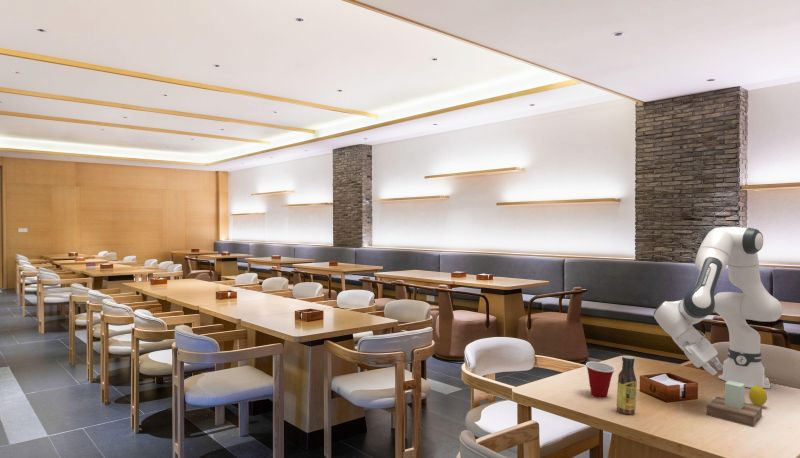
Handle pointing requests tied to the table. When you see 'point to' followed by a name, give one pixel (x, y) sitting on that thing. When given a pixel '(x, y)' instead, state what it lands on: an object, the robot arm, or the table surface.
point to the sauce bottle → (627, 387)
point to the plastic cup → (599, 378)
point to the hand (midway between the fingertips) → (718, 371)
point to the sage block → (734, 394)
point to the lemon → (757, 395)
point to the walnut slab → (734, 412)
